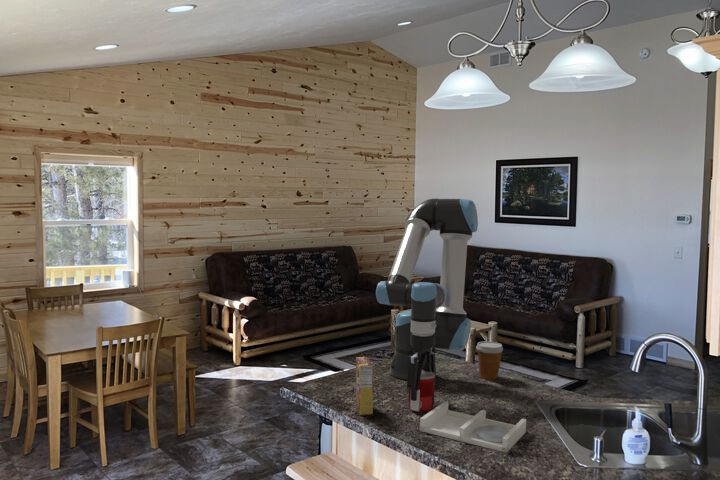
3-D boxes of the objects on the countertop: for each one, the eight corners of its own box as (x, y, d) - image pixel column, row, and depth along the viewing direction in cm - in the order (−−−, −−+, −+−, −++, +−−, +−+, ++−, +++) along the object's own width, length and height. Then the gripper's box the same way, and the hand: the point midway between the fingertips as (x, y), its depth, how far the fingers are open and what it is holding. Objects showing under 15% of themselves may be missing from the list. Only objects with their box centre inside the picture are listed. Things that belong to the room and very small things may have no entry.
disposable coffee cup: (470, 377, 218) (471, 345, 217) (481, 371, 226) (482, 339, 225) (496, 382, 213) (497, 349, 212) (506, 376, 221) (507, 343, 220)
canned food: (438, 411, 185) (439, 376, 184) (413, 413, 183) (414, 378, 182) (428, 402, 192) (429, 368, 191) (404, 405, 190) (405, 370, 189)
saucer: (483, 427, 171) (483, 422, 171) (514, 434, 166) (515, 430, 166) (471, 437, 163) (471, 433, 163) (503, 445, 158) (503, 441, 158)
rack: (444, 416, 181) (444, 401, 181) (525, 435, 168) (526, 419, 168) (419, 434, 168) (420, 418, 167) (506, 456, 155) (507, 439, 154)
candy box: (354, 404, 190) (355, 356, 189) (368, 404, 190) (369, 356, 189) (358, 415, 181) (359, 365, 180) (373, 414, 182) (373, 364, 180)
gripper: (418, 342, 175) (416, 419, 177) (448, 328, 192) (446, 398, 194) (395, 338, 179) (394, 413, 181) (426, 325, 196) (425, 394, 198)
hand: (421, 405), depth 187 cm, fingers closed on canned food, 8 cm apart
